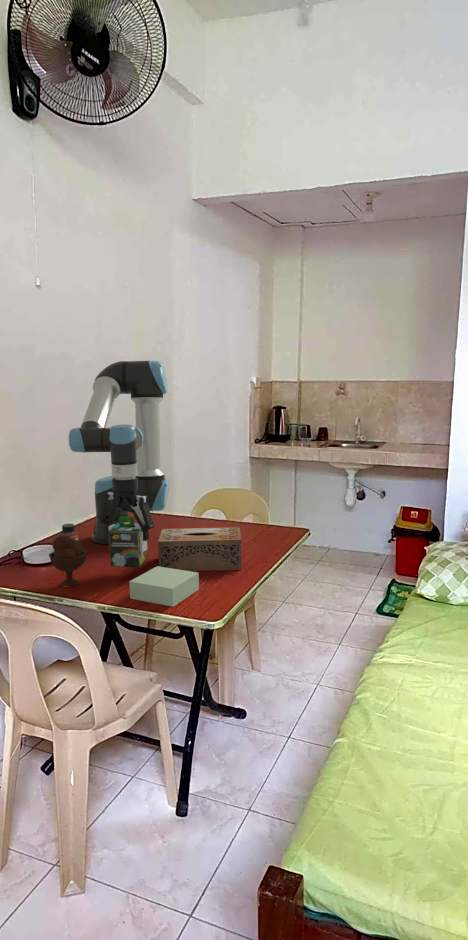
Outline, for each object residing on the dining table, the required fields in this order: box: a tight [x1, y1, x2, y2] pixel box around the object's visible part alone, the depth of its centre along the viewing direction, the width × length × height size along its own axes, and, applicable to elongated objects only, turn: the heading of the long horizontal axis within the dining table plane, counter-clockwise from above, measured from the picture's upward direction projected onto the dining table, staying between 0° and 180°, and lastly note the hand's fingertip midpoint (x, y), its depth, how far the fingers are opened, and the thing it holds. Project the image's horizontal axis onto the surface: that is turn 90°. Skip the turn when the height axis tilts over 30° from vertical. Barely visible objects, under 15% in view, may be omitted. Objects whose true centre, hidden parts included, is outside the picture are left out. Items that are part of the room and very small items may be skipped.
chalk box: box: [108, 516, 148, 569], centre depth 192 cm, size 9×9×15 cm
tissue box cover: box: [157, 526, 242, 572], centre depth 204 cm, size 26×14×10 cm, turn 91°
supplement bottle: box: [59, 523, 79, 541], centre depth 211 cm, size 6×6×11 cm
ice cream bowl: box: [48, 535, 88, 587], centre depth 186 cm, size 11×11×15 cm
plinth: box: [129, 565, 200, 607], centre depth 178 cm, size 14×14×5 cm
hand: (128, 548), depth 192 cm, fingers closed on chalk box, 11 cm apart
